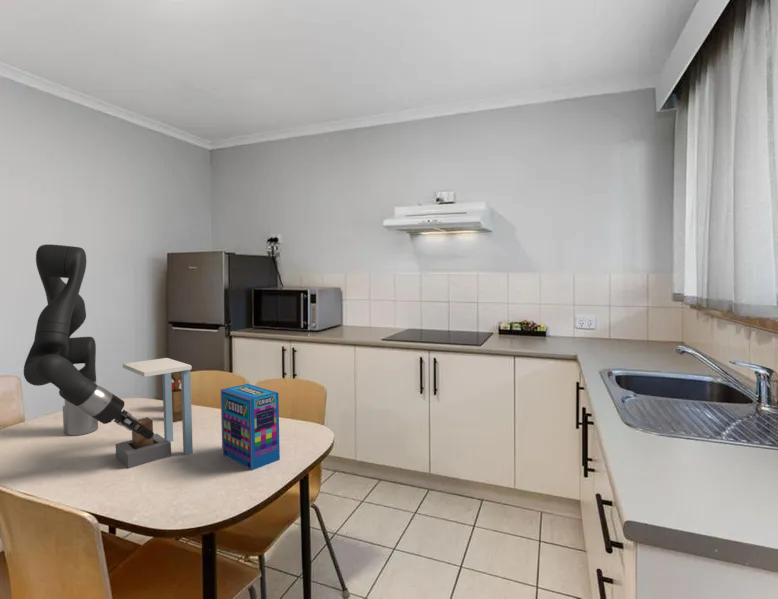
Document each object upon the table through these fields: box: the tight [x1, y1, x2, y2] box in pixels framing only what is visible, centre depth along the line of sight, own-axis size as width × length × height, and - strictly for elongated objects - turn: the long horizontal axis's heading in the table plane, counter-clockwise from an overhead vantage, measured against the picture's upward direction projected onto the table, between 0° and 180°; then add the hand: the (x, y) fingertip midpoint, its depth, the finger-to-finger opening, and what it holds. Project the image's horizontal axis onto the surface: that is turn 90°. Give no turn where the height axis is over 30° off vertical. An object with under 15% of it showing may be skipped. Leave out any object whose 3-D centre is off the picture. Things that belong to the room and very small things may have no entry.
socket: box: [115, 433, 172, 469], centre depth 128 cm, size 12×12×4 cm
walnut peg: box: [131, 416, 154, 449], centre depth 128 cm, size 4×4×11 cm
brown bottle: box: [171, 371, 182, 423], centre depth 162 cm, size 7×6×18 cm
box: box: [220, 383, 281, 471], centre depth 127 cm, size 17×9×20 cm, turn 49°
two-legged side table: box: [122, 357, 194, 455], centre depth 131 cm, size 13×19×27 cm
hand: (146, 432), depth 129 cm, fingers open, 8 cm apart
